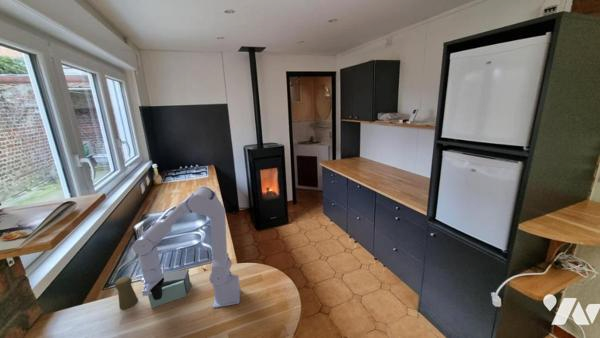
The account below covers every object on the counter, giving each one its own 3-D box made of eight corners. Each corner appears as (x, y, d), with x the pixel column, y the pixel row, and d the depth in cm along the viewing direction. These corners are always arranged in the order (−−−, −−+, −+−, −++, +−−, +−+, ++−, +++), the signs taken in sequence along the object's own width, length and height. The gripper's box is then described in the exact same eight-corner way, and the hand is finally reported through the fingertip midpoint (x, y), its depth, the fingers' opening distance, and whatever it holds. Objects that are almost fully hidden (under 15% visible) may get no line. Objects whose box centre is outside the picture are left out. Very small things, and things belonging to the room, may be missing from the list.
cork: (128, 310, 92) (121, 285, 89) (115, 308, 93) (108, 283, 90) (141, 298, 98) (135, 274, 95) (129, 297, 99) (122, 273, 96)
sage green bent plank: (186, 293, 98) (183, 280, 97) (186, 295, 97) (183, 282, 96) (151, 306, 93) (148, 292, 91) (151, 308, 92) (147, 294, 90)
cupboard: (191, 283, 104) (188, 269, 103) (187, 293, 99) (184, 278, 97) (158, 289, 102) (155, 274, 101) (152, 299, 97) (149, 284, 95)
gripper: (147, 256, 94) (154, 286, 98) (129, 281, 81) (137, 315, 84) (167, 253, 96) (173, 283, 99) (152, 277, 82) (160, 312, 85)
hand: (158, 298), depth 91 cm, fingers closed, pressing on sage green bent plank
